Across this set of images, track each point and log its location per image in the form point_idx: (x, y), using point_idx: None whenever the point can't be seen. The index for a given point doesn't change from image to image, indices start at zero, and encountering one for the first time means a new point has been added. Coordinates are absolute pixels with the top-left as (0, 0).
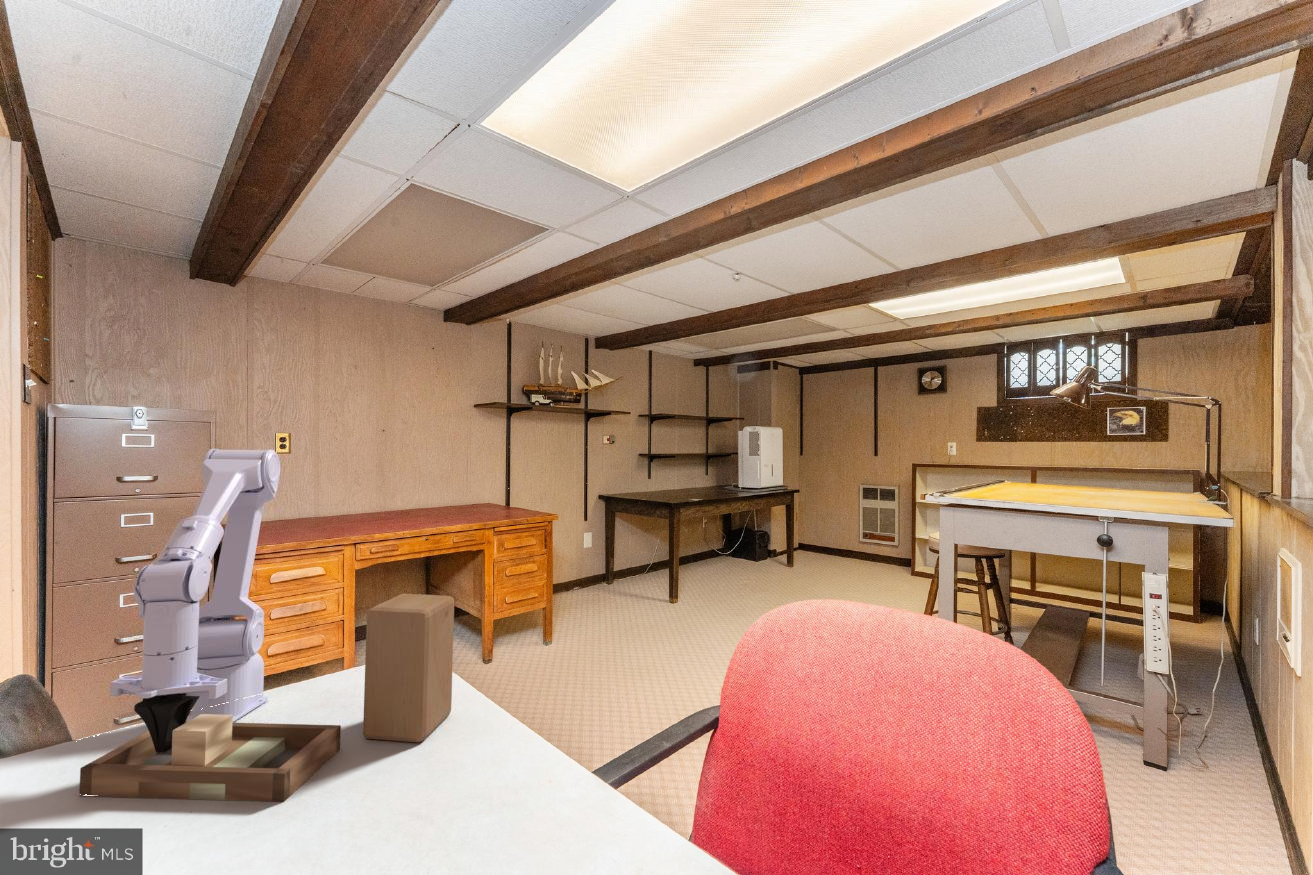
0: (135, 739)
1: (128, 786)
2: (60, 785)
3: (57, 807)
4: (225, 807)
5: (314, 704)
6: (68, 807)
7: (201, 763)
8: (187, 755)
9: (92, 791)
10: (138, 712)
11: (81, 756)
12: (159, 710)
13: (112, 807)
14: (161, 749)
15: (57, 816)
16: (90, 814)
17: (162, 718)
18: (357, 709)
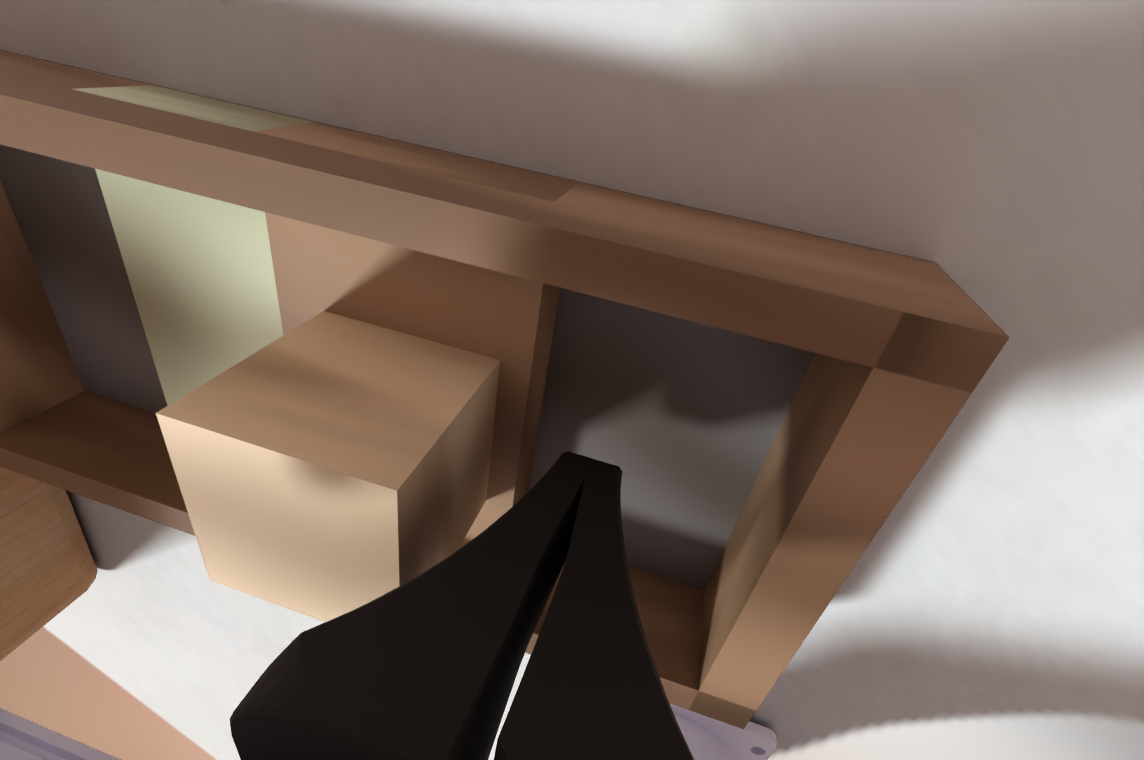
0: (802, 606)
1: (624, 208)
2: (1116, 407)
3: (1019, 155)
4: (99, 13)
5: None
6: (942, 143)
7: (333, 319)
8: (387, 362)
9: (856, 250)
10: (661, 741)
11: (1119, 647)
12: (386, 674)
13: (661, 100)
14: (577, 461)
15: (964, 36)
16: (750, 33)
17: (450, 607)
18: (225, 619)
